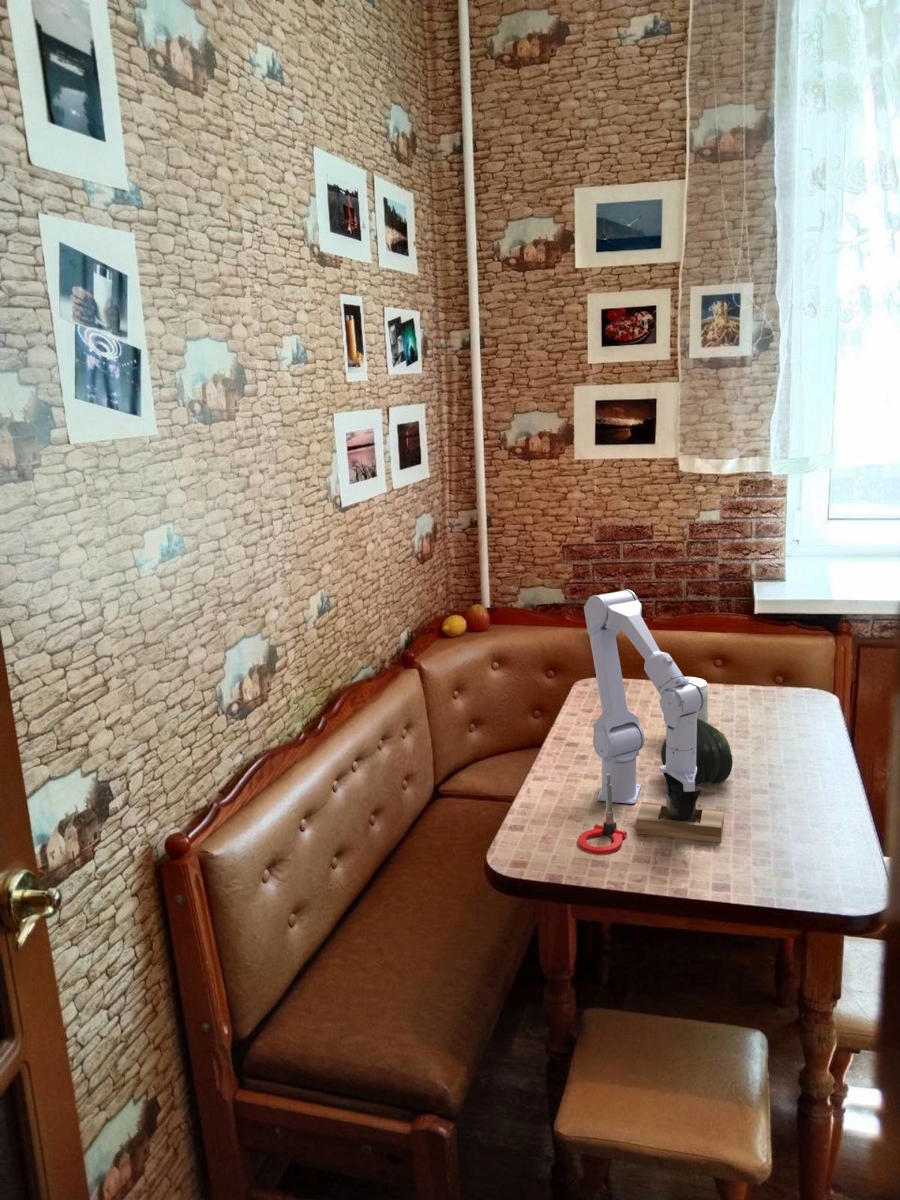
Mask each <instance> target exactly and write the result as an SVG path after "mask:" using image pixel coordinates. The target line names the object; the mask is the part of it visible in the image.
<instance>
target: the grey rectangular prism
mask: <svg viewBox="0 0 900 1200" xmlns="http://www.w3.org/2000/svg"><path fill="white" fill-rule="evenodd" d="M665 804H666V820H674V821H684V822H693V823H695V815H696V807H697V806H696V805H697V803H695V806H694V809H693V813H692V817H691V820H680V819H679V816H678V812H677V804H676V799H675V796H674V793H673V792H670V793H668V792H666V803H665Z"/></svg>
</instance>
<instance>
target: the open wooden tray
mask: <svg viewBox="0 0 900 1200" xmlns="http://www.w3.org/2000/svg"><path fill="white" fill-rule="evenodd" d="M724 816H725V809H718V808H709V807H708V808H707V807H699V806H696V815H695V823H693V822H684V821H674V820H666V803H659V802H658V803H657V802H650V801H649V802H648V801H641V804H640V807H639V809H638V813H637V816H636V822H635V823H636V826H635V827H636V834H642V835H651V836H659V837H669V838H679V839H689V840H697V841H698V840H699V841H707V842H715V843H722V838H723V833H724V832H723V830H724V824H725V823H724V819H725V817H724Z"/></svg>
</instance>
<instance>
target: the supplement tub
mask: <svg viewBox="0 0 900 1200" xmlns="http://www.w3.org/2000/svg"><path fill="white" fill-rule="evenodd" d="M684 677H685V678H686V679H689V680H690V681H691V682H693V683H695V684H697V685H698V686H699V687H700V689H701V691H702V693H703V697H704V705H703V708H702V709H701V710H700V711H698V712H696V713H697V718H698V719H700V720H702V721H704V722H706V723H708V724H709V719H708V718H709V710H708V709H709V705H708V704H709V696H708V695H709V694H708V693H709V691H708V690H709V689H708V688H709V687H708V682H707V680H705V679H703V678H700V677H694V676H684Z"/></svg>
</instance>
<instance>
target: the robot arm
mask: <svg viewBox="0 0 900 1200" xmlns="http://www.w3.org/2000/svg"><path fill="white" fill-rule="evenodd" d="M642 609H643V607H642V603H641V602H640V601H639V599H638V596H637V595H636V594H635V592H633V590H631V589H623V590H621V591H615V592H610V593H602V594H599V595H598V594H595V595H593V594H592V595H591V596H589V598H587V601H586V602H585V604H584V606H583V611H584V617H585V624H586V630H587V633H588V635H589V640H590V645H591V646H590V647H591V653H592V657H593V658H592V659H593V665H594V670H595V675H596V676H595V677H596V684H597V690H598V696H599V700H600V708H601V714H600V715H599V717H598V718H597V719H595V721H594V722H593V724H592V728H593V735H592V736H593V737H592V745H593V746H592V747H593V748H594V751H595V753H596V755H598V758H600V759H601V788H600V791H599V793H598V796H597V797H596V800H597V801H598V802H599V801H600V802H606V789H605V784H606V774H610V784H611V785H612V803H620V804H631V805H635V804H637V800H638V797H639V794H640V790H641V788H642V785H641V784H640V783H637V757H638V756H639V755H640V752H639V751H641V750H642V749H643V747H644V746H645V734H644V731H643V729H642V726H641V725H640V721H639V716H638V715H636V714H635V713H633V712H632V711H631V710H629V709H628V704H627V698H626V692H625V691H626V690H625V686H624V680H623V675H622V668H621V661H620V655H619V649H618V644H617V635H618V634H619V633H620V632H623V634H625V636H626V637H627V638H628V639H629V641H630V643H632V645H633V646H634V647H635V649H636V650H637V652H638V653H639V654H640V656H641V657H642V658H643V659H644V665H643V670H644V671H645V673H646V675H647V677H648V678H649V679H650V681H651V683H652V685H653V686H654V687H655V689H656V690H657V692H658V694H659V696H660V698H659V706H660V709H661V711H662V714H663V721H664V724H665V727H666V729H665V731H666V732H665V735H666V736H665V739H666V764H665V765H663V764H662V765H659V771H660V772H661V773H662V774H663V776H664V777H663V778H664V780H665V782H666V783H665V784H666V787H667V793H670V792H673V793H674V796H675V799H676V804H677V812H678V816H679V819H680V820H691V817H692V813H693V809H694V806H695V803H696V802H697V800H698V798H699V797H700V795H701V794H702V792H703V789H702V787H701V785H696V784H695V781H694V780H695V777H696V773H697V766H696V745H697V713H696V712H698V711H700V710H701V709H702V708H703V705H704V697H703V693H702V691H701V689H700V687H699V686H698V685H697V684H695V683H693V682H691V681H690V680H689V679H686V678H685V677H686V676H684V674H683V673H682V671H681V670H680V668H679V667H678V665H677V664H676V662H675V661H674V659H673V658H672V656H671V655H670V653H668V652H663V651H661V649H659V646H658V644H657V642H656V641H655V639H654V637H653V635H652V633H651V631H650V629H649V628H648V625H647V624H646V622H645V621H644V618H643V617H642ZM696 804H697V803H696Z"/></svg>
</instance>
